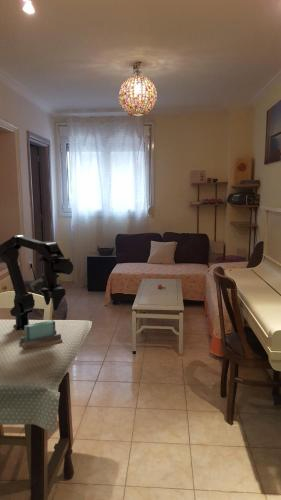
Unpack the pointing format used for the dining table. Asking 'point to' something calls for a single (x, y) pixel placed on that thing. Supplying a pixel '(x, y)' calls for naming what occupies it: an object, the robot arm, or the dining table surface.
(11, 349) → the dining table surface
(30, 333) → the door panel
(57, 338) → the track
